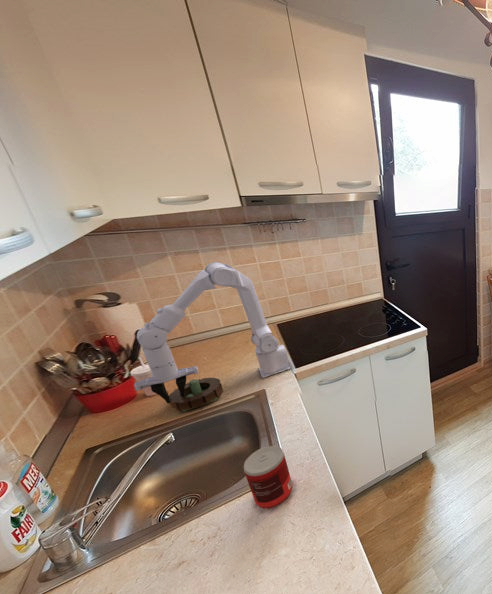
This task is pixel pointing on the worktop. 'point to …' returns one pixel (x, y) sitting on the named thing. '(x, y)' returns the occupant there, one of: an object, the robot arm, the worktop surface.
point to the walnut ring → (197, 400)
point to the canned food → (268, 476)
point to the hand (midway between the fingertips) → (176, 399)
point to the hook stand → (196, 390)
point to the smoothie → (143, 376)
